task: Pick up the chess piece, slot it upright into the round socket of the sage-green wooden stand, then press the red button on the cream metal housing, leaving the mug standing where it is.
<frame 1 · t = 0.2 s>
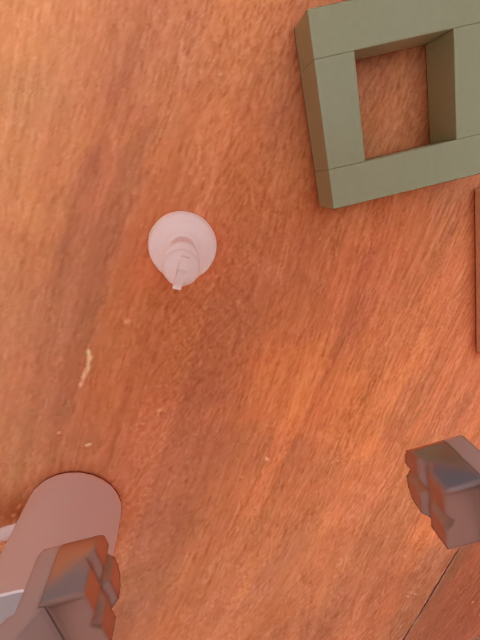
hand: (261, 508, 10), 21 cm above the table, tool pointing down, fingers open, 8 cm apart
chess piece: (182, 245, 29), on the table
mug: (51, 503, 35), on the table
dock: (385, 106, 27), on the table
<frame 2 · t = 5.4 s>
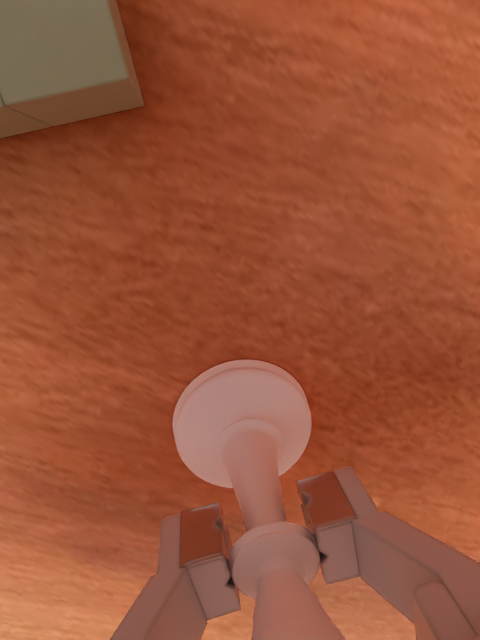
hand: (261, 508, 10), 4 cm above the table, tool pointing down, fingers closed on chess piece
chess piece: (241, 418, 14), on the table, touching gripper
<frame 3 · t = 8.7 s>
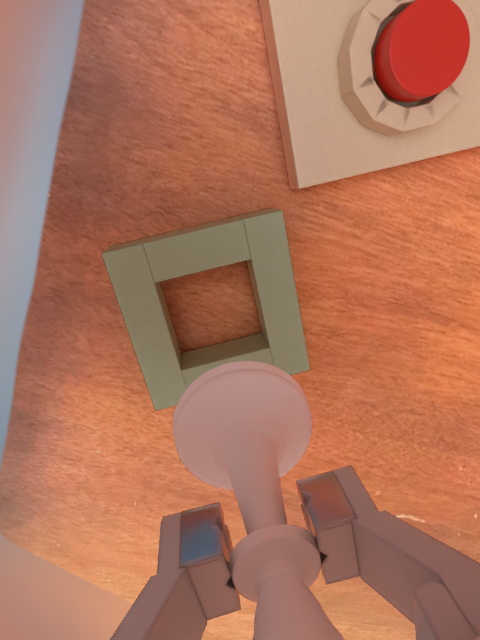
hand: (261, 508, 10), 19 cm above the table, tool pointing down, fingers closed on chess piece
chess piece: (241, 419, 14), point 15 cm above the table, touching gripper
dock: (211, 303, 28), on the table
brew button: (420, 52, 21), point 4 cm above the table, slide at 0.1 cm
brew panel: (380, 74, 25), on the table
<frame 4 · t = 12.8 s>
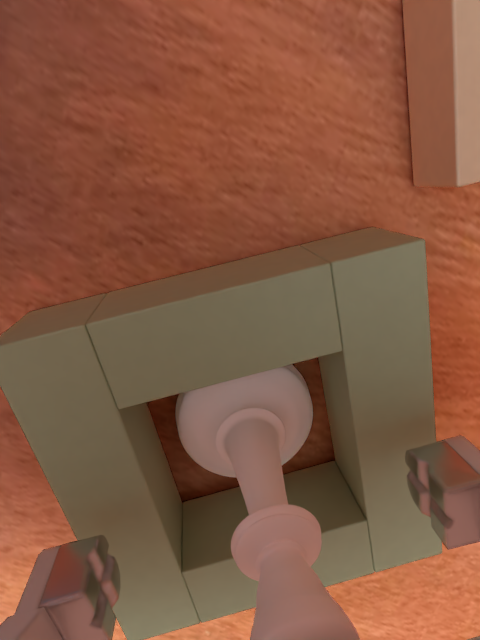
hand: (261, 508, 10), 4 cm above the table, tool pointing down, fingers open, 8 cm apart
chess piece: (243, 408, 15), resting in dock
dock: (242, 414, 14), on the table
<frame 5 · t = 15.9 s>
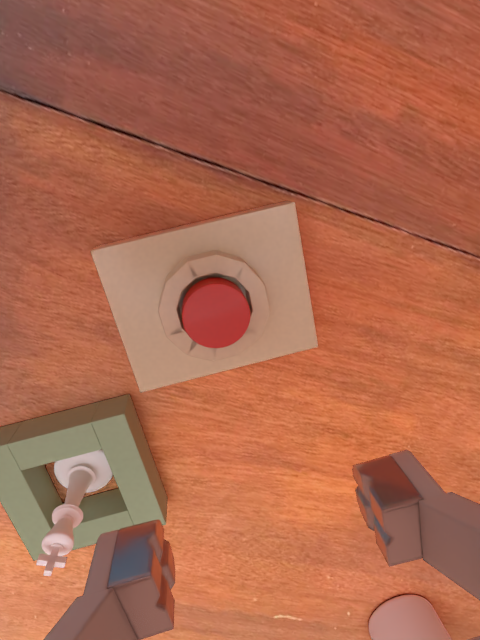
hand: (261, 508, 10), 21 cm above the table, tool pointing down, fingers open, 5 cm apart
chess piece: (86, 462, 34), resting in dock
mug: (392, 628, 47), on the table
dock: (85, 465, 34), on the table
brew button: (215, 312, 26), point 4 cm above the table, slide at 0.1 cm
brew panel: (211, 294, 30), on the table
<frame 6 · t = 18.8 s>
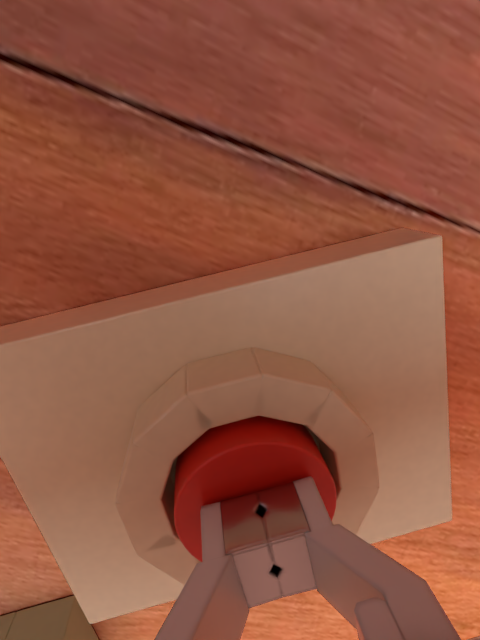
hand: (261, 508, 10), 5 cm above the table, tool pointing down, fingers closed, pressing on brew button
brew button: (252, 488, 11), point 4 cm above the table, slide at -0.6 cm, touching gripper
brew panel: (236, 416, 15), on the table
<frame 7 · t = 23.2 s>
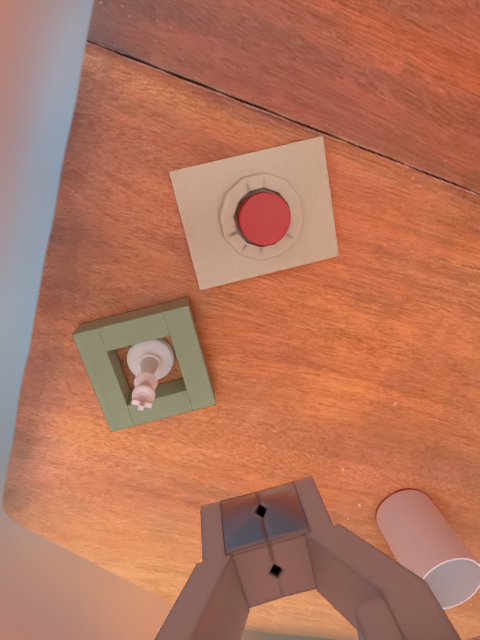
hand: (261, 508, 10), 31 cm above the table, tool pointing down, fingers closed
chess piece: (151, 356, 42), resting in dock
mug: (396, 522, 55), on the table
dock: (150, 359, 42), on the table
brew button: (263, 218, 34), point 4 cm above the table, slide at 0.1 cm
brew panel: (255, 214, 38), on the table
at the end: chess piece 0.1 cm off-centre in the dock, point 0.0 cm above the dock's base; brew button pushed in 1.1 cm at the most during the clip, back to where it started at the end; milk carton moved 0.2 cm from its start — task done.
